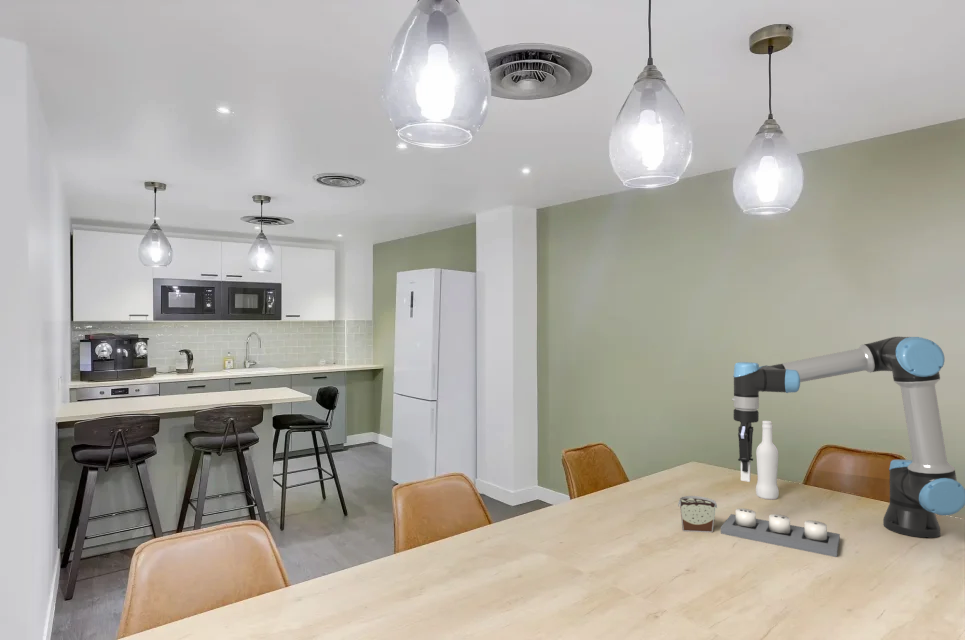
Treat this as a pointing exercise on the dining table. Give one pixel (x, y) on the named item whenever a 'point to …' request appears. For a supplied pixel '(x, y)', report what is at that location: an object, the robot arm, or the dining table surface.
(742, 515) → the three dot button
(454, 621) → the dining table surface
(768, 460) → the bottle
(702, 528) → the food container
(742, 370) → the robot arm
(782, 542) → the button board
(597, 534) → the dining table surface
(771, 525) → the two dot button
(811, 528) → the one dot button
